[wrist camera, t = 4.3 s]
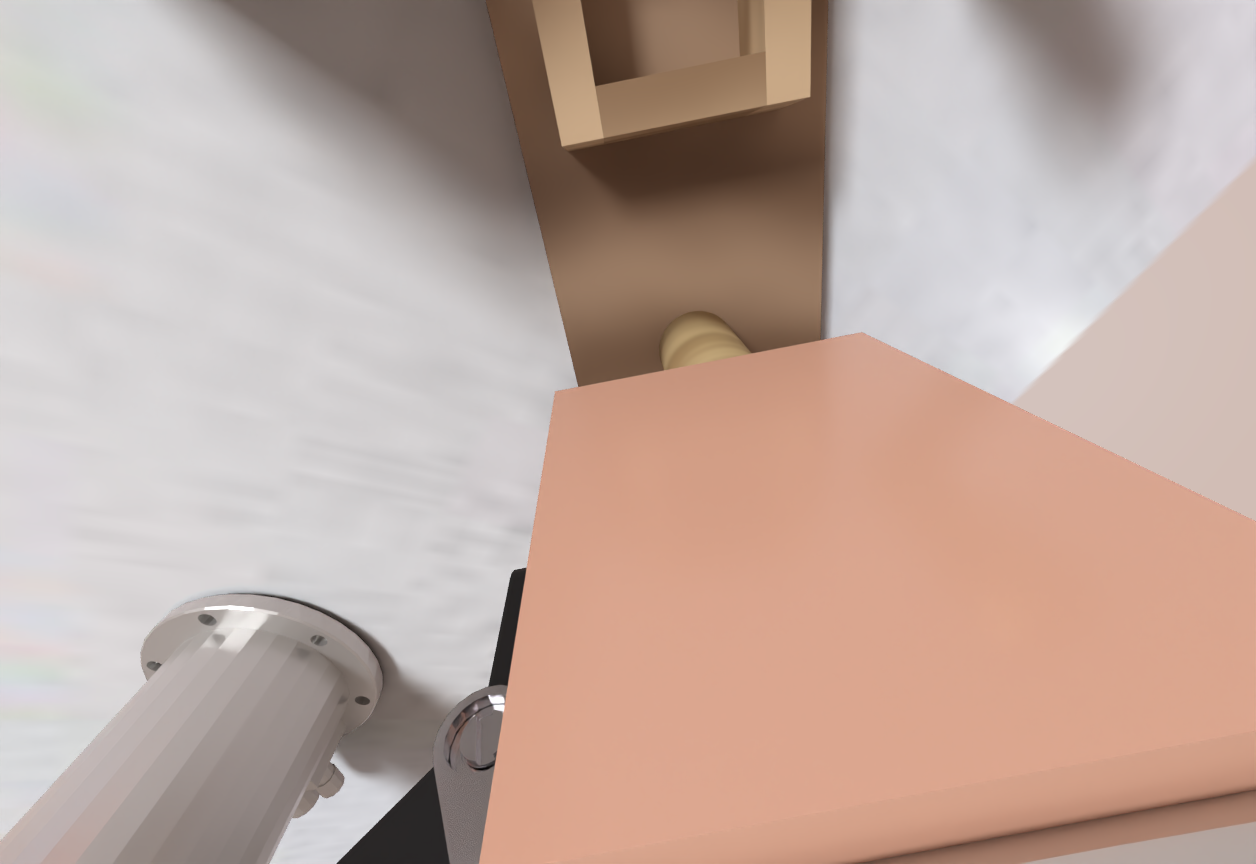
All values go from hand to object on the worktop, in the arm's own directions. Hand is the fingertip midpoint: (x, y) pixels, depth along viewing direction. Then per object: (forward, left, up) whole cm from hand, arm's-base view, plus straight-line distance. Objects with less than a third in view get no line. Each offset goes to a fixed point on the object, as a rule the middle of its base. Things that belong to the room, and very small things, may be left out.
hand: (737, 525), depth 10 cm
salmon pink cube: (0, 0, -1) cm, 1 cm away
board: (+6, -1, -11) cm, 13 cm away
